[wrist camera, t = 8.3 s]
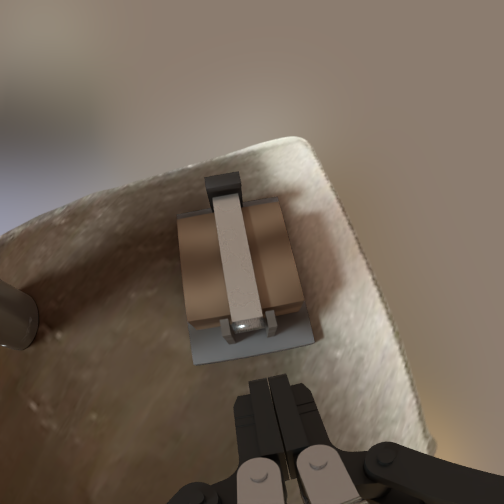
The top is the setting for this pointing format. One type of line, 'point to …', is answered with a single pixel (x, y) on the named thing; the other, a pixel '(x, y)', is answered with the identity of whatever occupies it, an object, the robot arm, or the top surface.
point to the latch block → (266, 275)
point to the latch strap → (237, 265)
